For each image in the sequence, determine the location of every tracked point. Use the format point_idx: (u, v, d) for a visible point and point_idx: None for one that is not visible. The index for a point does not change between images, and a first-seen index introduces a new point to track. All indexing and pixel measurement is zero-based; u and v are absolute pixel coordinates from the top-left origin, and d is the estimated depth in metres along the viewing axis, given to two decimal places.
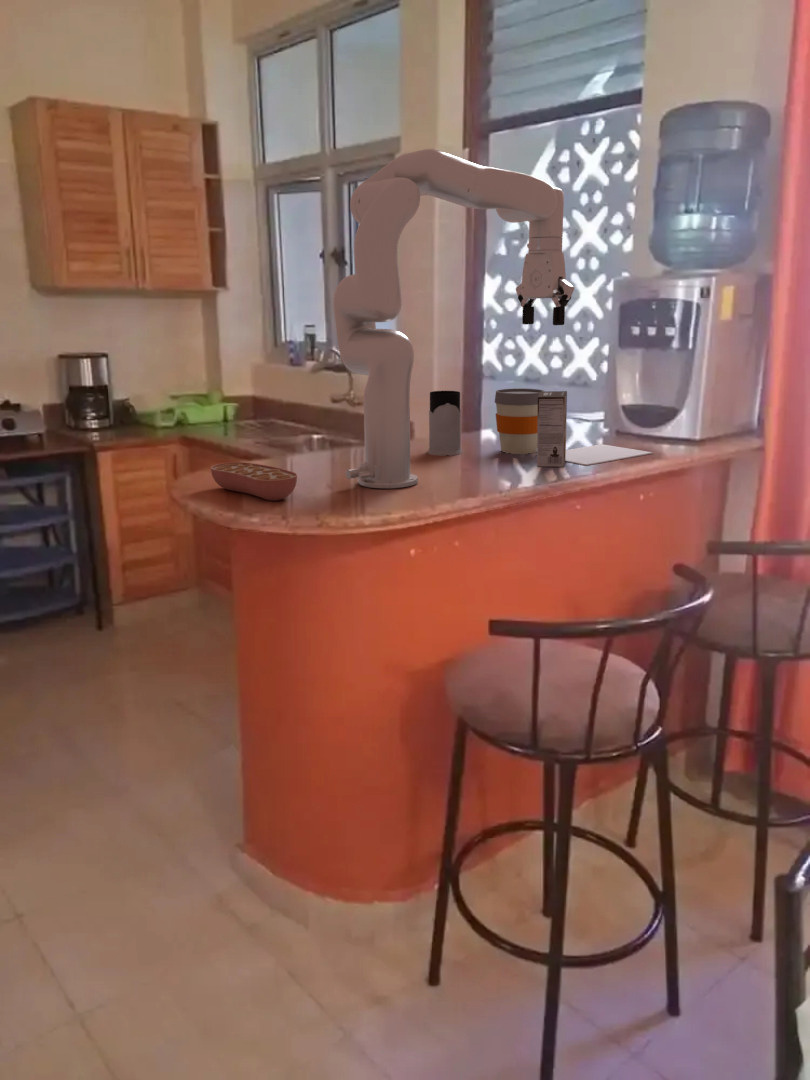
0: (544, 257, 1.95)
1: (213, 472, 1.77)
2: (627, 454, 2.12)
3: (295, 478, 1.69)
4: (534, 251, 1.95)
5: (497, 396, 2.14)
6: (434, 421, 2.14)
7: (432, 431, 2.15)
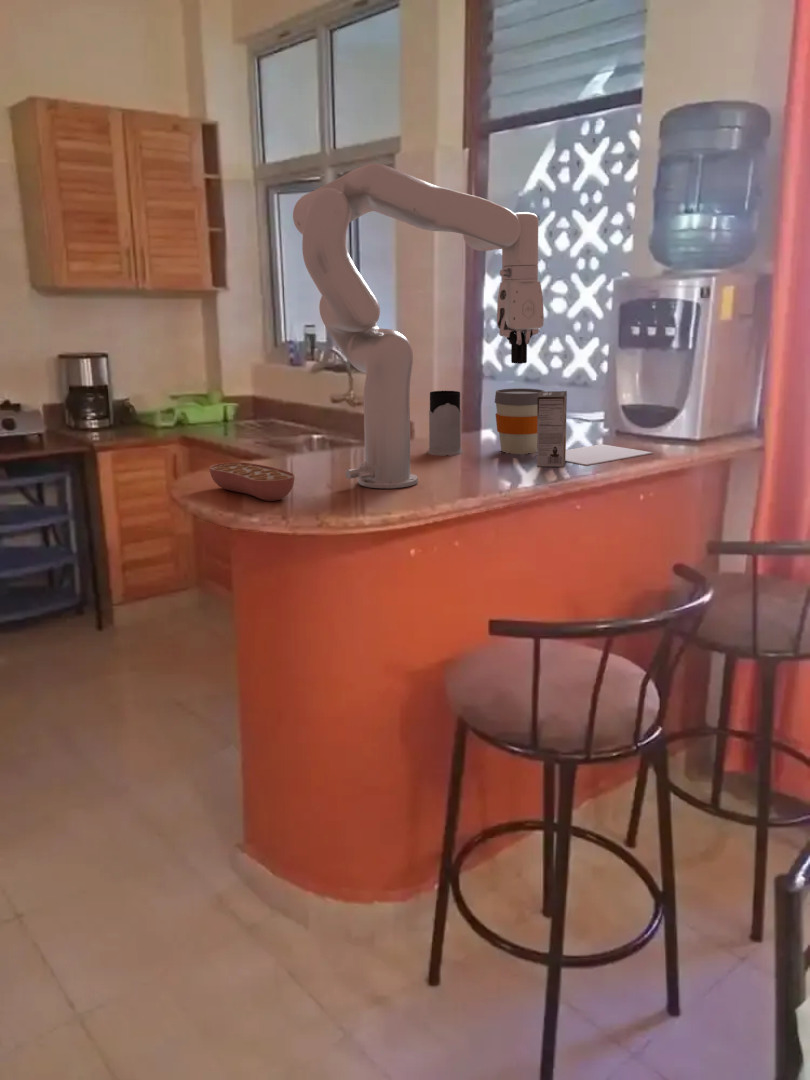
0: (535, 286, 1.85)
1: (212, 472, 1.77)
2: (627, 454, 2.12)
3: (292, 479, 1.68)
4: (533, 280, 1.83)
5: (497, 396, 2.14)
6: (434, 421, 2.14)
7: (432, 431, 2.15)
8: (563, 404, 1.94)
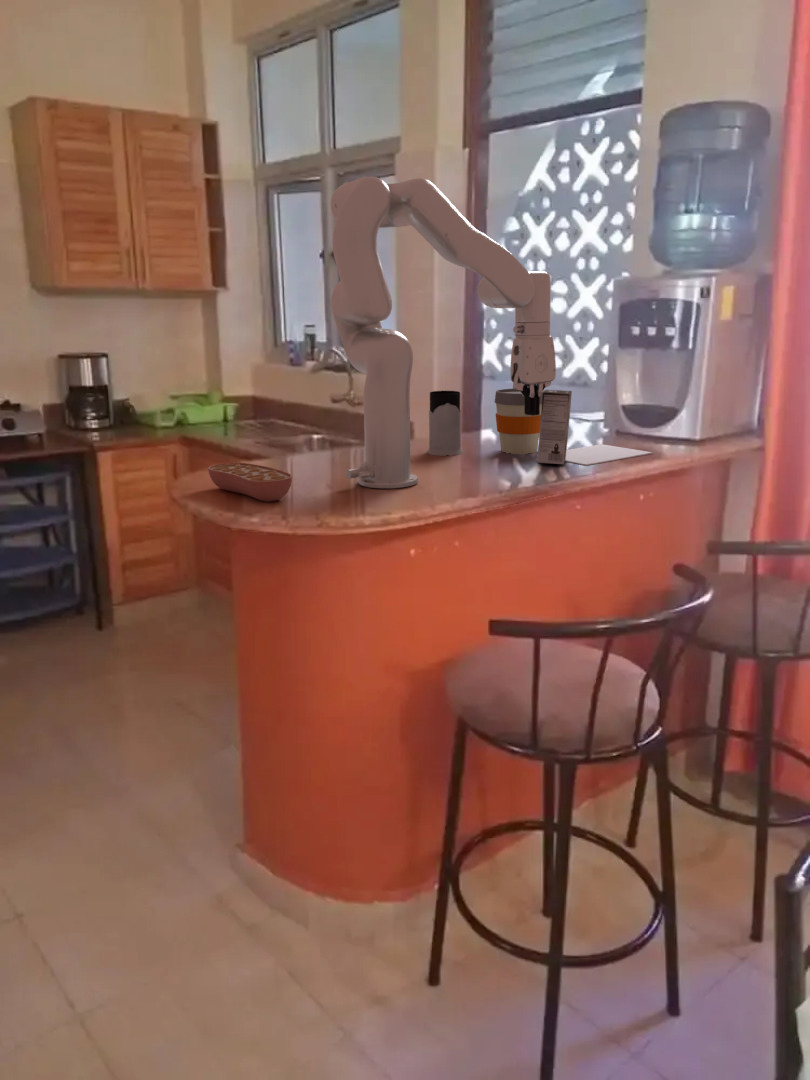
0: (548, 341, 1.90)
1: (210, 472, 1.77)
2: (627, 454, 2.12)
3: (289, 479, 1.68)
4: (545, 336, 1.88)
5: (497, 396, 2.14)
6: (434, 421, 2.14)
7: (432, 431, 2.15)
8: (568, 401, 1.95)
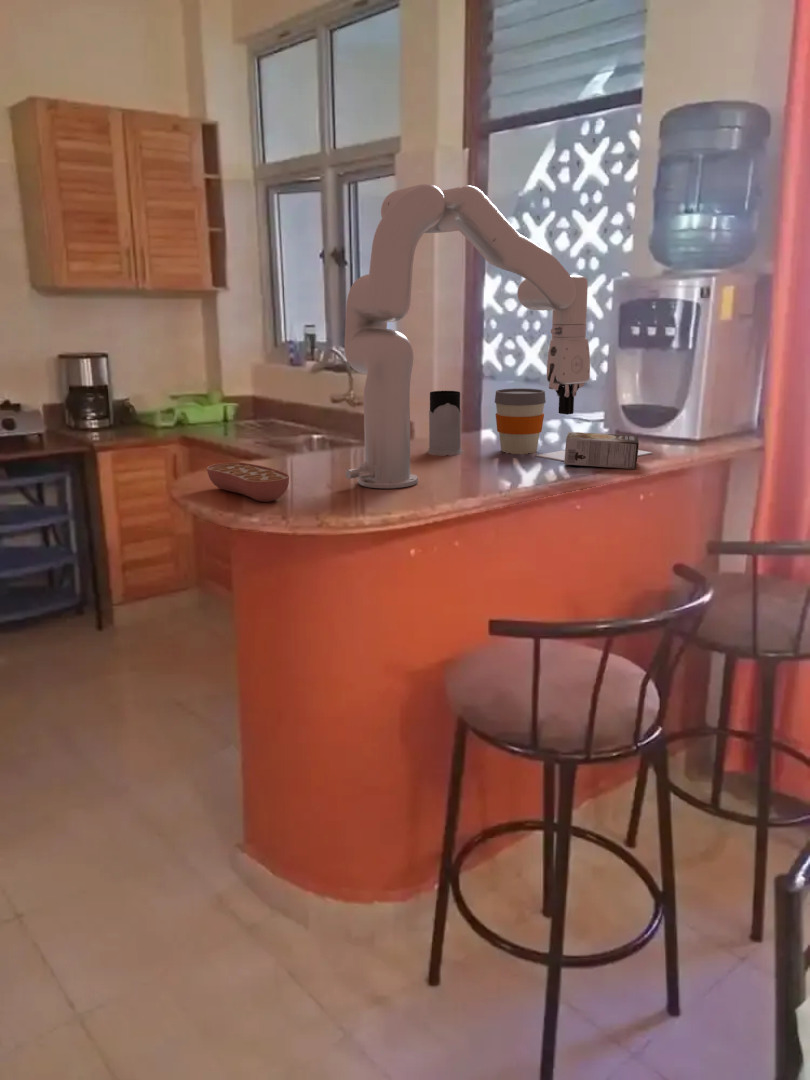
0: (583, 343, 1.97)
1: (209, 472, 1.77)
2: None
3: (286, 479, 1.67)
4: (581, 338, 1.95)
5: (497, 396, 2.14)
6: (434, 421, 2.14)
7: (432, 431, 2.15)
8: (628, 467, 1.95)
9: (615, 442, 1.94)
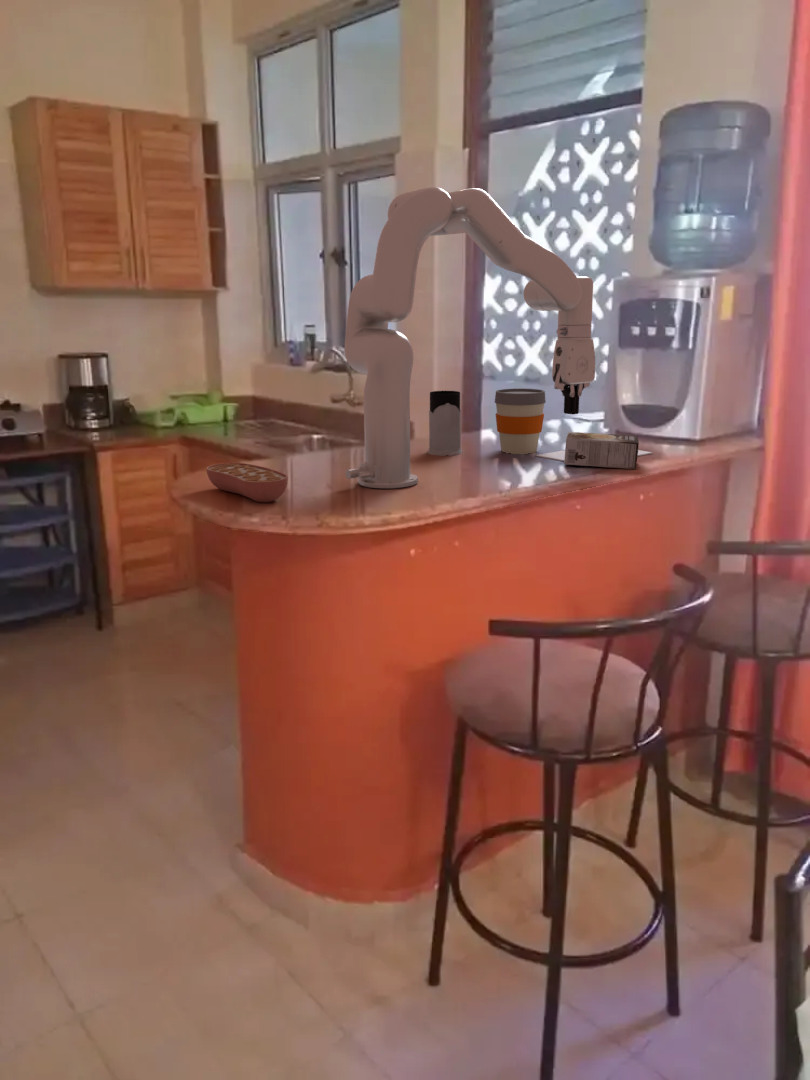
0: (589, 343, 1.99)
1: (208, 472, 1.77)
2: None
3: (285, 480, 1.67)
4: (587, 338, 1.96)
5: (497, 396, 2.14)
6: (434, 421, 2.14)
7: (432, 431, 2.15)
8: (628, 467, 1.95)
9: (615, 442, 1.94)
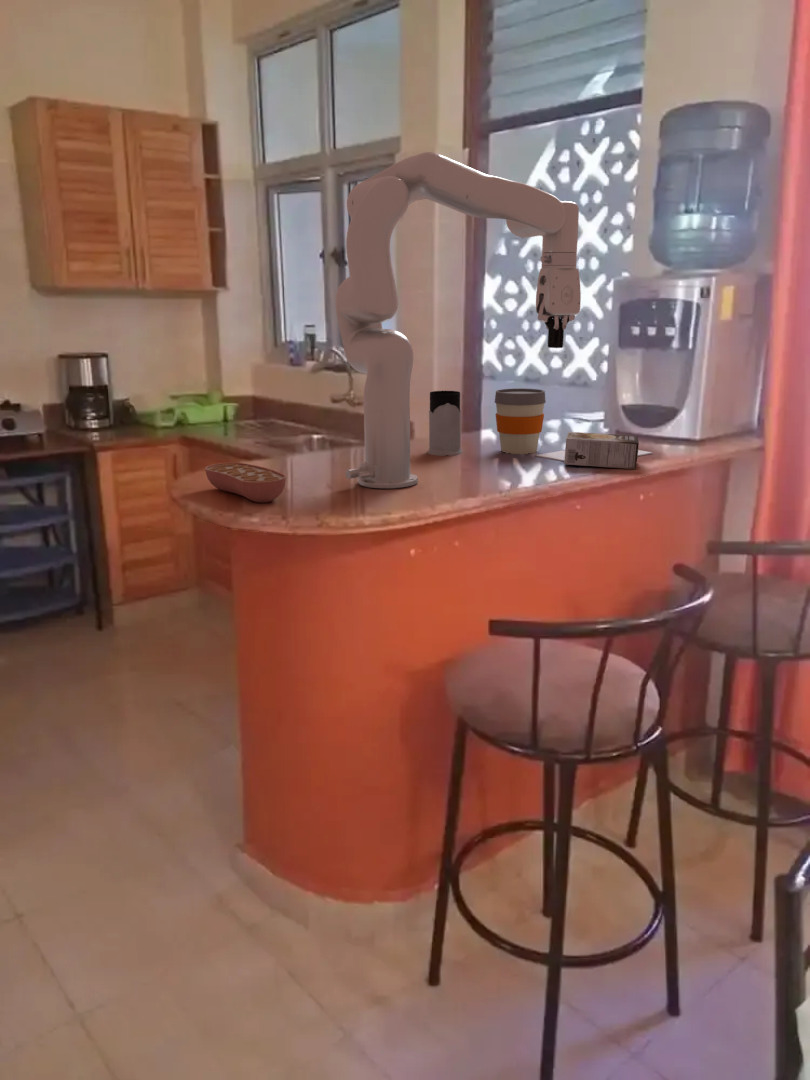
0: (574, 273, 1.91)
1: (207, 472, 1.76)
2: None
3: (283, 480, 1.67)
4: (572, 266, 1.89)
5: (497, 396, 2.14)
6: (434, 421, 2.14)
7: (432, 431, 2.15)
8: (628, 467, 1.95)
9: (615, 442, 1.94)
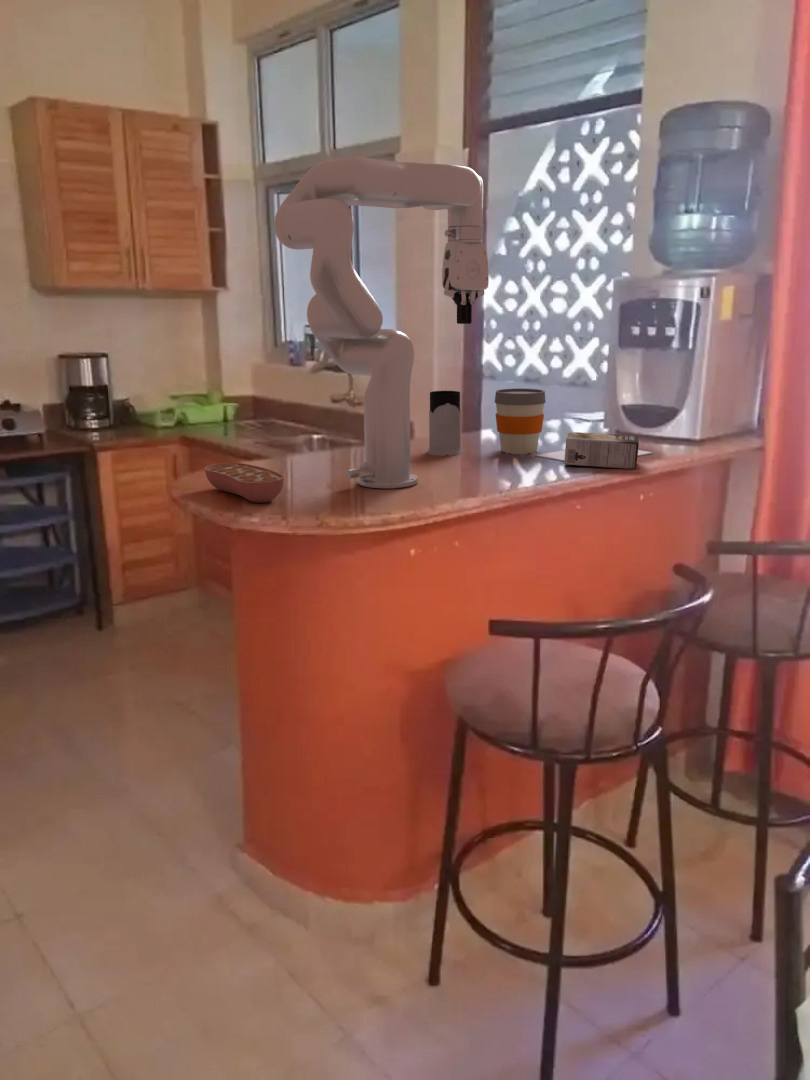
0: (480, 247, 1.89)
1: (206, 472, 1.77)
2: None
3: (280, 481, 1.67)
4: (477, 240, 1.87)
5: (497, 396, 2.14)
6: (434, 421, 2.14)
7: (432, 431, 2.15)
8: (628, 467, 1.95)
9: (615, 442, 1.94)
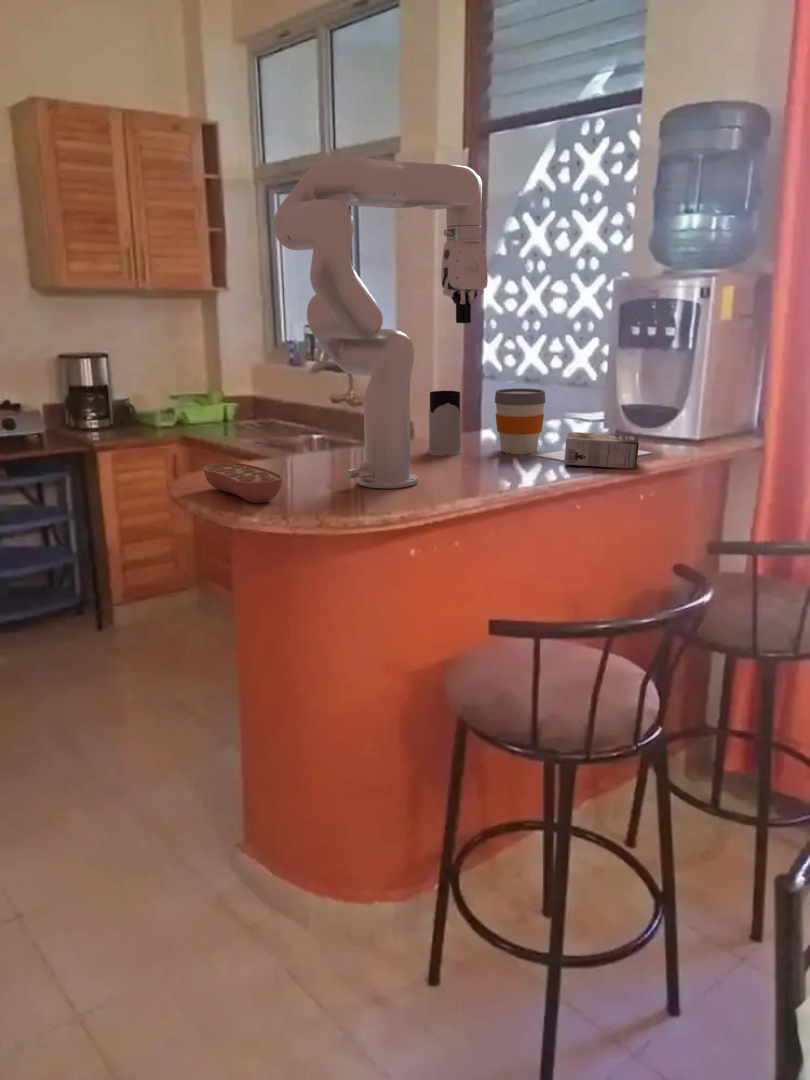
0: (479, 246, 1.89)
1: (205, 472, 1.76)
2: None
3: (278, 481, 1.66)
4: (476, 240, 1.86)
5: (497, 396, 2.14)
6: (434, 421, 2.14)
7: (432, 431, 2.15)
8: (628, 467, 1.95)
9: (615, 442, 1.94)
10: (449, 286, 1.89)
